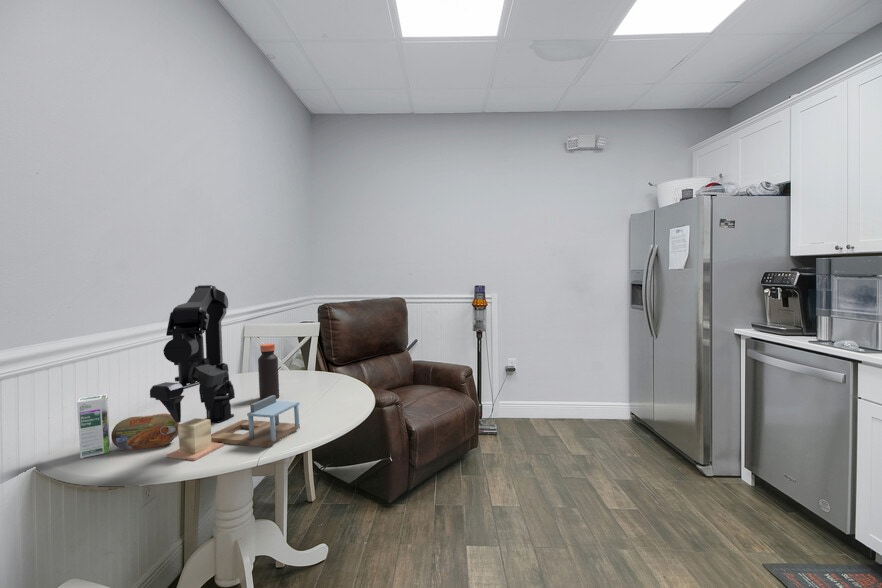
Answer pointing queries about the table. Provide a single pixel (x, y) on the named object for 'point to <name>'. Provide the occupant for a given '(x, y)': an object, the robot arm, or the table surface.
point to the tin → (144, 432)
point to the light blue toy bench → (271, 413)
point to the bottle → (268, 372)
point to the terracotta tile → (194, 456)
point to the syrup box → (93, 425)
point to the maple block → (194, 435)
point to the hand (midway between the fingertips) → (193, 416)
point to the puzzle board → (260, 433)
